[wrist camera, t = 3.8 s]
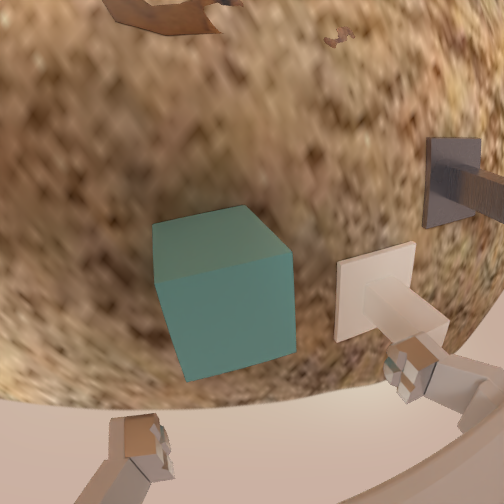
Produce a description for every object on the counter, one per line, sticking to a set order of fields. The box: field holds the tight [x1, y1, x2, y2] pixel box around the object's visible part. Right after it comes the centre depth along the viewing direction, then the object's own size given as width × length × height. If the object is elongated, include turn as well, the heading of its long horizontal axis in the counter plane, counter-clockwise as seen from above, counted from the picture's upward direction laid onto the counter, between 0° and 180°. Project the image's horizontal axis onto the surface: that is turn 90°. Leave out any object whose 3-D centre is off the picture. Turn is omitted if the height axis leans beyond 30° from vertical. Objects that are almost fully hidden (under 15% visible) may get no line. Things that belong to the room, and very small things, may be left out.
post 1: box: [334, 241, 450, 347], centre depth 21 cm, size 7×7×7 cm
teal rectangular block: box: [152, 205, 296, 382], centre depth 16 cm, size 5×5×7 cm
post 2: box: [422, 137, 504, 229], centre depth 19 cm, size 7×7×7 cm
